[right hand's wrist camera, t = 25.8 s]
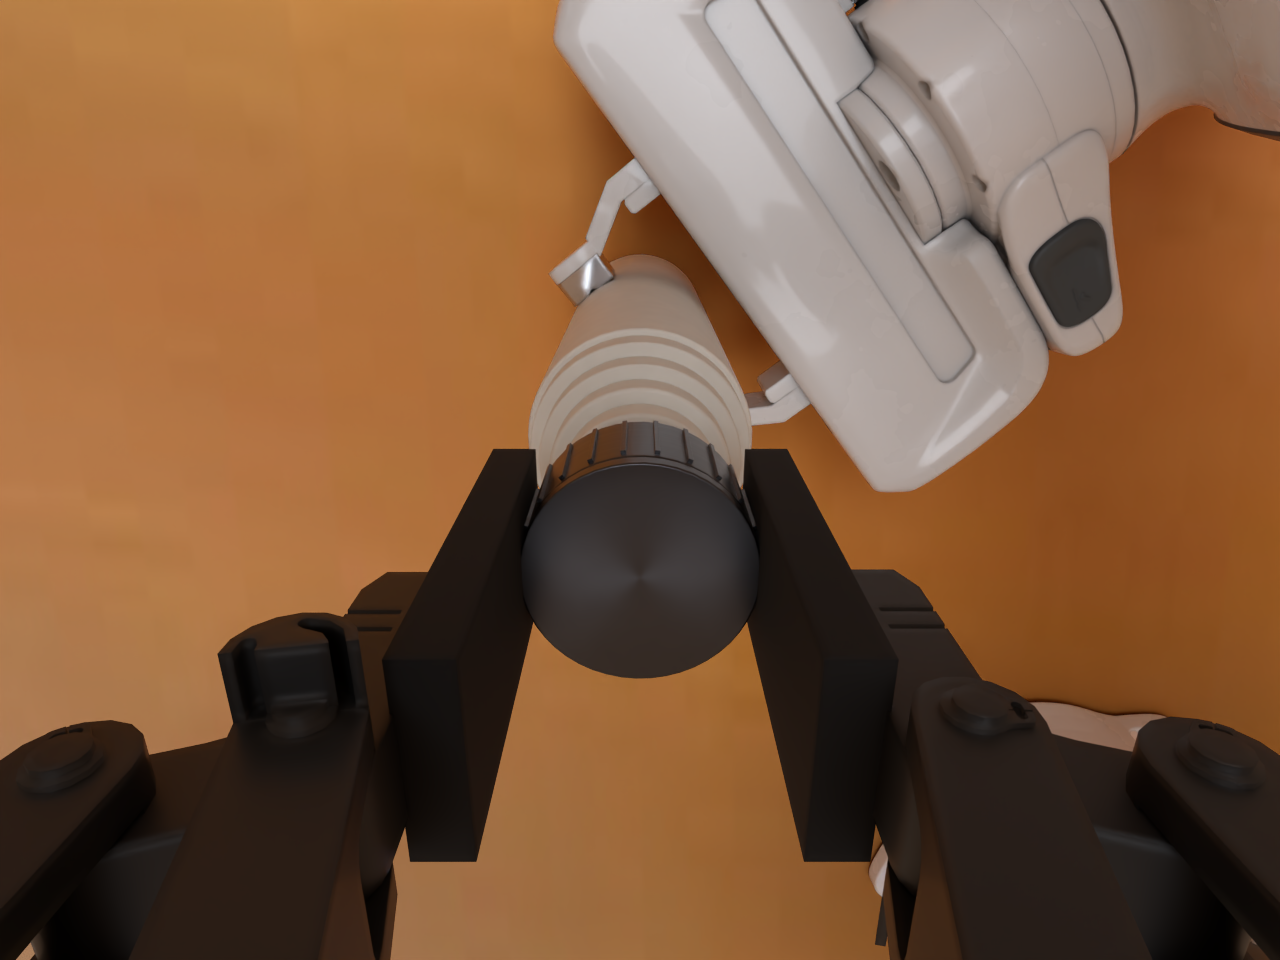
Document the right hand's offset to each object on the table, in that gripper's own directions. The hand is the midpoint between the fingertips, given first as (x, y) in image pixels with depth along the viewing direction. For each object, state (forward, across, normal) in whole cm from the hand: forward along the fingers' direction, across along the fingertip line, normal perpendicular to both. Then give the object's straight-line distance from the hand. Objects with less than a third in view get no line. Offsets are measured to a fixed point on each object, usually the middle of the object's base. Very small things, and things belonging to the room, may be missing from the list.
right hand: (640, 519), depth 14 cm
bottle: (+22, 0, 0) cm, 22 cm away
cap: (-2, 0, 0) cm, 2 cm away
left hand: (+15, -1, -1) cm, 15 cm away
